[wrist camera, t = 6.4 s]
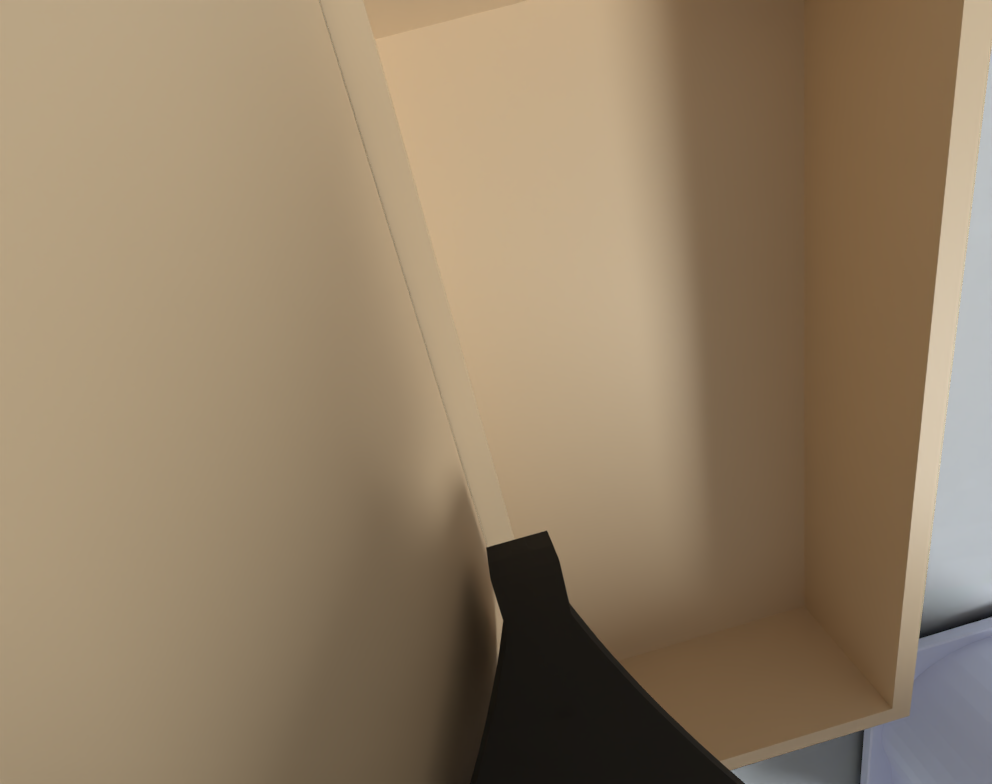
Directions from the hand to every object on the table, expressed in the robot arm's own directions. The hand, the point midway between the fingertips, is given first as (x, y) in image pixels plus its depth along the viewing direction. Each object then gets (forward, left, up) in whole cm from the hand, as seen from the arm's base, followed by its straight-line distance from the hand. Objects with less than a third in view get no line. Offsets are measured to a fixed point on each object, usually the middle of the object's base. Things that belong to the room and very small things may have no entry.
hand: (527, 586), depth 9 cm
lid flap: (0, +1, +3) cm, 4 cm away
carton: (0, -4, -5) cm, 7 cm away
